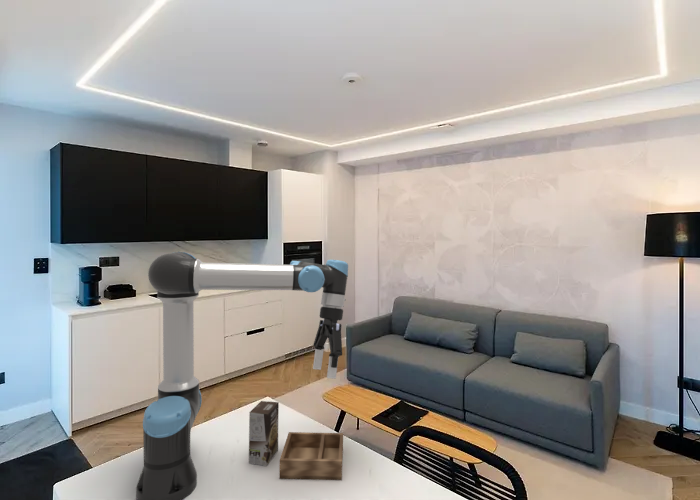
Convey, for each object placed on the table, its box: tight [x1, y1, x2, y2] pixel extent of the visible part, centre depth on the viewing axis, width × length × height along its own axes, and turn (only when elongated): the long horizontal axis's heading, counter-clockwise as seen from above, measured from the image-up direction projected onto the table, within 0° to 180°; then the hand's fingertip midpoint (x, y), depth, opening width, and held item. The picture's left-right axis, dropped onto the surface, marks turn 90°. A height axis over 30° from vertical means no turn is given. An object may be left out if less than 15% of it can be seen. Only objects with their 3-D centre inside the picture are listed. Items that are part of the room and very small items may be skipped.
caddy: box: [278, 431, 344, 481], centre depth 118 cm, size 18×16×6 cm
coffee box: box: [248, 400, 280, 467], centre depth 121 cm, size 9×6×16 cm
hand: (323, 373), depth 123 cm, fingers open, 13 cm apart
